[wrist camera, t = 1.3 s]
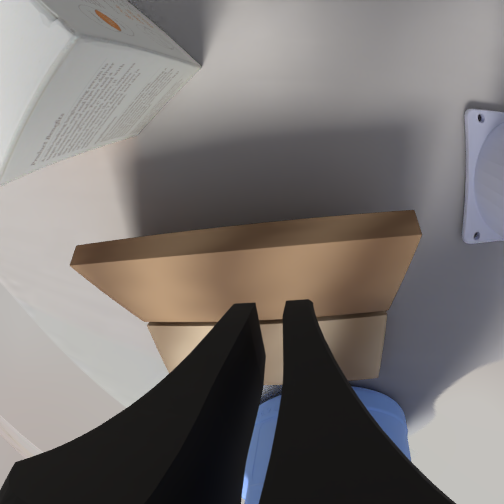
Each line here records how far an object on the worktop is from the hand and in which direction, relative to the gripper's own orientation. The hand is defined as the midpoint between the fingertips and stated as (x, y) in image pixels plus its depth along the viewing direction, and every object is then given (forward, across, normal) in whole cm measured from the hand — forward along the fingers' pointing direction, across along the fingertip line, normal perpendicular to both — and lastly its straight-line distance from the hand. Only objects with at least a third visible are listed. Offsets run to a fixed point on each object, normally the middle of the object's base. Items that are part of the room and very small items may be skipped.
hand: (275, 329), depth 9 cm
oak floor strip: (+9, +2, +10) cm, 14 cm away
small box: (+10, +8, -10) cm, 16 cm away
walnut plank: (+7, +2, +2) cm, 8 cm away
